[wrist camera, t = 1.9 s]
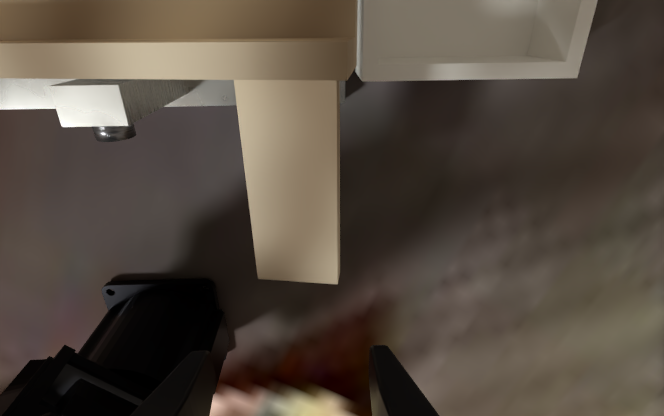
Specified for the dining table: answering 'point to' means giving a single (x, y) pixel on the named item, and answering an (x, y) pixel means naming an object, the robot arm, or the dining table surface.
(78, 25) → the lever
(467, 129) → the dining table surface
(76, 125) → the lever stand
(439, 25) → the tray
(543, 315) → the dining table surface
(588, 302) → the dining table surface
